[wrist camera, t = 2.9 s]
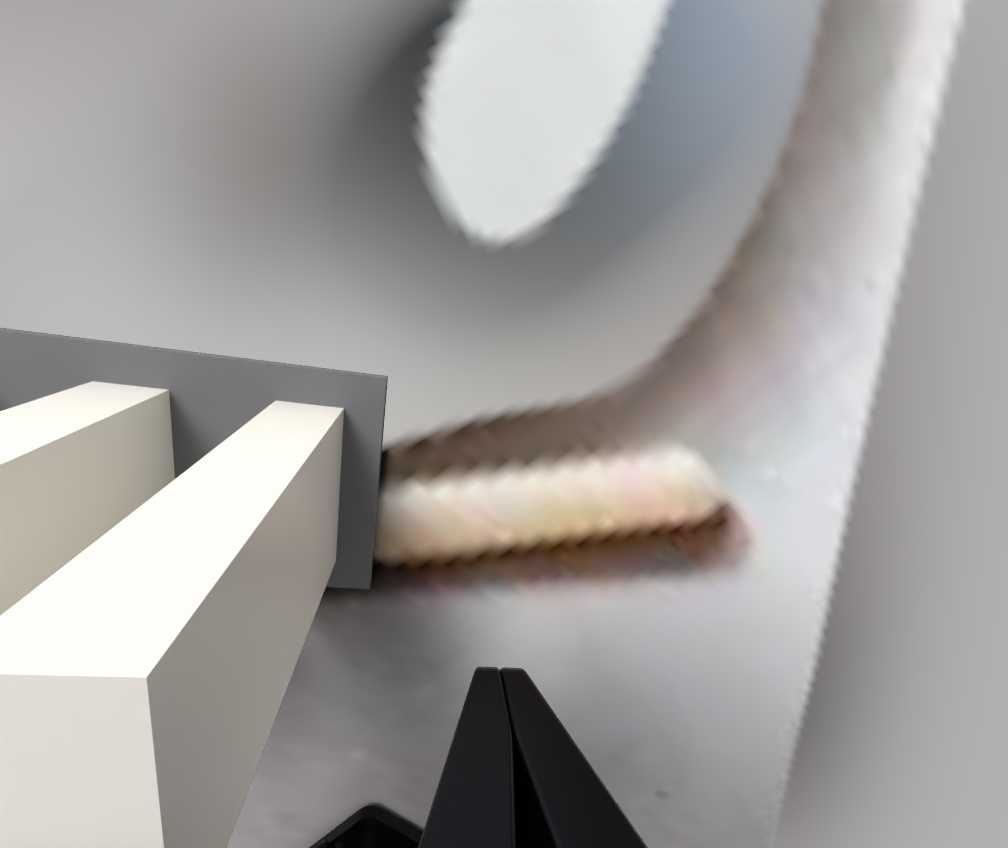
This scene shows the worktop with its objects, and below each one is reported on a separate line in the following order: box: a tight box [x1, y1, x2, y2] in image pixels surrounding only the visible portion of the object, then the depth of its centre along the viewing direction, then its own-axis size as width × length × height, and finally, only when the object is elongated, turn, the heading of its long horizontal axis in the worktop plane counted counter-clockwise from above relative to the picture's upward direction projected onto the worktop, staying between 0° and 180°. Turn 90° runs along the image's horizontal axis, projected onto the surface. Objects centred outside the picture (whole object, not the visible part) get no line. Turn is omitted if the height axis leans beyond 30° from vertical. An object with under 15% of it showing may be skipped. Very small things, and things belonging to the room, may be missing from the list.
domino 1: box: [0, 401, 344, 848], centre depth 9 cm, size 5×2×9 cm, turn 171°
